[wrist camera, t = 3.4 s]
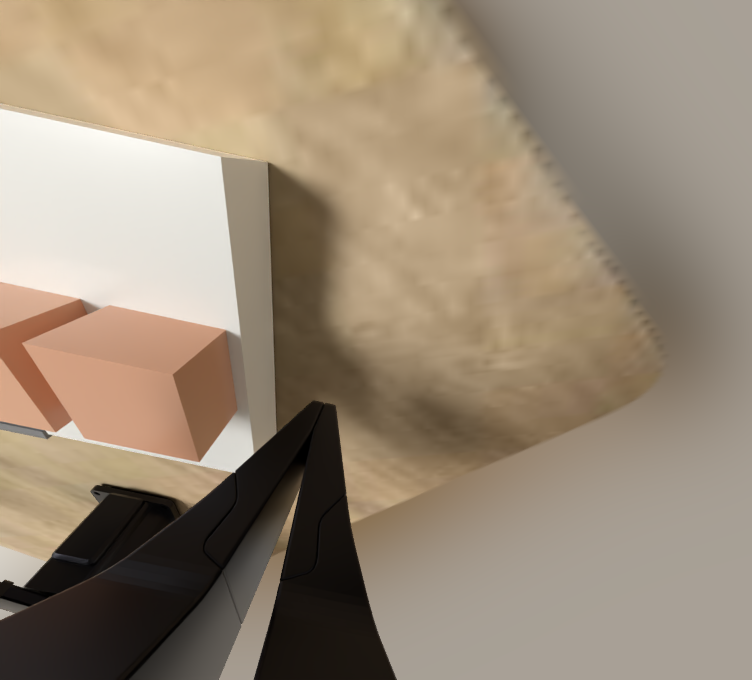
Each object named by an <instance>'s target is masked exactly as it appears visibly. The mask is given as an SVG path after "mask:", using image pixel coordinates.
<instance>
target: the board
mask: <svg viewBox="0 0 752 680" xmlns="http://www.w3.org/2000/svg"><path fill="white" fill-rule="evenodd" d="M0 282H3V283H8V284H13V285H17V286H22V287H27V288H32V289H36V290H41V291H46V292H50V293H55V294H60V295H65V296H69V297H74V298H79V299H81V301H82V303H83V306H84V308H85V310H86V312H87V314H90V313H92V312H95V311H97V310H99V309H102V308H104V307H106V306H109V305H112V306H116V307H121V308H126V309H131V310H135V311H140V312H145V313H149V314H154V315H159V316H164V317H168V318H173V319H178V320H182V321H187V322H192V323H197V324H201V325H206V326H211V327H215V328H220V329H225V330H226V334H227V341H228V348H229V354H230V361H231V368H232V375H233V382H234V389H235V395H236V402H237V409H238V410H237V412H236V413H235V414H234V416H233V417H232V418H231V420H230V421H229V423H228V424H227V425H226V427H225V428H224V429H223V431H222V432H221V434H220V435H219V436H218V438H217V439H216V440H215V442H214V443H213V445H212V446H211V447H210V449H209V450H208V451H207V453H206V454H205V456H204V457H203V458H202V460H201V461H200V462H195V461H191V460H186V459H181V458H176V457H171V456H166V455H162V454H157V453H152V452H147V451H142V450H137V449H133V448H128V447H123V446H118V445H113V444H108V443H104V442H99V441H94V440H89V439H85V438H84V437H83V435H82V434H81V432H80V431H79V429H78V428H77V426H76V425H75V423H74V422H73V420H72V421H71V422H70V423H68V424H67V425H65V426H64V427H63V428H61V429H60V430H59V431H57V432H56V433H55V432H50V431H46V430H45V431H46V432H47V433H48V434H49V435H54V436H59V437H64V438H69V439H74V440H78V441H83V442H88V443H93V444H98V445H103V446H108V447H112V448H117V449H122V450H127V451H132V452H137V453H141V454H146V455H151V456H156V457H161V458H166V459H170V460H175V461H180V462H185V463H190V464H195V465H199V466H204V467H209V468H214V469H219V470H224V471H229V472H234V473H235V470H236V469H237V468H239V467H240V466H241V465H242V464H243V463H244V462H245V461H246V460H247V459H249V458H250V457H251V456H252V455H253V454H254V453H255V452H256V451H257V450H259V449H260V448H261V447H262V446H263V445H264V444H265V443H266V442H267V441H269V440H270V439H271V438H272V437H273V436H274V435H275V434H276V433H277V430H276V399H275V368H274V338H273V307H272V276H271V246H270V215H269V184H268V162H267V161H262V160H258V159H253V158H249V157H244V156H239V155H235V154H230V153H226V152H221V151H217V150H212V149H207V148H203V147H198V146H194V145H189V144H185V143H180V142H176V141H171V140H166V139H162V138H157V137H153V136H148V135H144V134H139V133H134V132H130V131H125V130H121V129H116V128H112V127H107V126H102V125H98V124H93V123H89V122H84V121H80V120H75V119H70V118H66V117H61V116H57V115H52V114H48V113H43V112H39V111H34V110H29V109H25V108H20V107H16V106H11V105H7V104H2V103H0Z"/></svg>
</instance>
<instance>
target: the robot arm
mask: <svg viewBox="0 0 752 680" xmlns="http://www.w3.org/2000/svg"><path fill="white" fill-rule="evenodd" d="M300 486H301V487H300ZM299 488H300V491H299ZM298 491H299V496H298V500H297V505H296V509H295V514H294V518H293V523H292V528H291V532H290V537H289V541H288V546H287V550H286V555H285V559H284V564H283V569H282V573H281V578H280V584H279V587H278V591H277V596H276V600H275V604H274V608H273V612H272V616H271V620H270V624H269V627H268V631H267V634H266V638H265V641H264V645H263V649H262V653H261V656H260V660H259V663H258V666H257V670H256V674H255V677H254V680H397V679H396V677H395V674H394V671H393V669H392V666H391V664H390V662H389V659H388V657H387V654H386V652H385V649H384V647H383V644H382V642H381V639H380V636H379V634H378V631H377V628H376V625H375V622H374V619H373V615H372V611H371V608H370V604H369V601H368V597H367V593H366V588H365V584H364V580H363V576H362V572H361V568H360V564H359V560H358V556H357V552H356V548H355V543H354V538H353V534H352V529H351V523H350V517H349V510H348V502H347V496H346V486H345V478H344V470H343V461H342V453H341V445H340V436H339V428H338V420H337V411H336V406H335V405H333V404H328V403H325V404H324V403H323V402H319V401H312V402H311V403H310V404H309V405H307V406H306V407H305V408H304V409H303V410H302V411H301V412H300V413H299V414H297V415H296V416H295V417H294V418H293V419H292V420H291V421H290V422H289V423H287V424H286V425H285V426H284V427H283V428H282V429H281V430H280V431H279V432H277V433H276V434H275V435H274V436H273V437H272V438H271V439H270V440H269V441H267V442H266V443H265V444H264V445H263V446H262V447H261V448H260V449H259V450H257V451H256V452H255V453H254V454H253V455H252V456H251V457H250V458H249V459H247V460H246V461H245V462H244V463H243V464H242V465H241V466H240V467H239V468H237V469H236V470H235V473H234V472H233V473H232V474H231V475H230V476H228V477H227V478H226V479H225V480H224V481H223V482H222V483H221V484H219V485H218V486H217V487H216V488H215V489H214V490H212V491H211V492H210V493H209V494H208V495H207V496H206V497H204V498H203V499H202V500H200V501H199V502H198V503H197V504H195V505H194V506H193V507H192V508H190V509H189V510H188V511H186V512H185V513H184V514H182V515H181V516H180V515H179V513H178V511H177V509H176V507H175V504H174V503H173V502H172V501H170V500H168V499H163V498H159V497H154V496H149V495H144V494H139V493H134V492H129V491H124V490H120V489H115V488H110V487H105V486H100V485H96V486H95V487H94V488H93V489H92V490H91V493H92V494H93V496H94V497H95V498H96V500H97V501H98V502H99V504H98V505H97V506H96V508H95V509H94V510H93V511H92V512H91V513H90V514H89V515H88V516H87V517H86V518H85V519H84V520H83V521H82V522H81V523H80V524H79V526H78V527H77V528H76V529H75V530H74V531H73V532H72V533H71V534H70V535H69V536H68V537H67V538H66V539H65V540H64V541H63V542H62V544H61V545H60V546H59V547H58V548H57V549H56V550H55V551H54V552H53V554H52V557H51V558H50V559H49V560H48V561H47V562H46V563H45V564H44V565H43V566H42V567H41V569H40V570H39V571H38V572H37V573H36V574H35V575H34V576H33V577H32V578H31V579H30V580H29V581H28V582H27V583H26V584H25V585H24V587H23V588H22V587H18V586H15V585H13V584H14V583H13V582H11V581H7V580H4V581H3V582H0V609H3V610H6V611H10V612H13V613H15V614H13V615H11V616H8V617H6V618H4V619H2V620H0V680H219V678H220V675H221V673H222V671H223V668H224V666H225V663H226V661H227V659H228V656H229V654H230V652H231V649H232V646H233V645H234V642H235V640H236V638H237V635H238V633H239V630H240V628H241V624H242V623H243V621H244V618H245V616H246V614H247V611H248V609H249V607H250V604H251V602H252V599H253V597H254V595H255V592H256V590H257V587H258V585H259V583H260V580H261V578H262V576H263V573H264V571H265V569H266V566H267V564H268V562H269V559H270V557H271V555H272V552H273V550H274V547H275V545H276V543H277V540H278V538H279V536H280V533H281V531H282V528H283V526H284V524H285V521H286V519H287V517H288V514H289V512H290V510H291V507H292V505H293V502H294V500H295V498H296V495H297V493H298Z"/></svg>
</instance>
